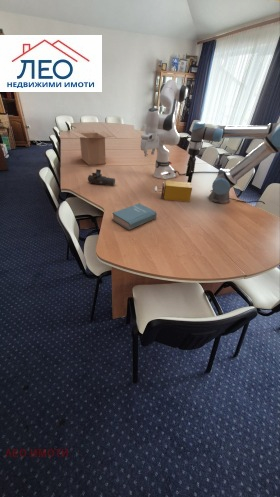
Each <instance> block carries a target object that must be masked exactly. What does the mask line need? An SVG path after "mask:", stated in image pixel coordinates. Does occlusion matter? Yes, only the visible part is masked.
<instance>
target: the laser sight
mask: <svg viewBox="0 0 280 497" xmlns="http://www.w3.org/2000/svg"><path fill="white" fill-rule="evenodd" d="M101 172H102V170H101V169H97V168H96V170H95V172H92V173H91V174H89V175H88V177H87V182H88V183H90V184H95V185H101V186H102V185H103V186H106V185H108V186H115V185H116V178H113V177H106V176H104V175H103V174H102V173H101Z"/></svg>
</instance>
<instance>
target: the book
mask: <svg viewBox="0 0 280 497" xmlns="http://www.w3.org/2000/svg"><path fill="white" fill-rule="evenodd" d="M157 214H158V213H157V211H156V210H154V209H152V208H149V207H148V206H146V205H144V204H142V203H139V202H138V203H136V204H133V205H130V206H126V207H125V208H121V209H120V210H119V209H118V210H116V211H114V212H112V217H113V218H112V221H113V222H115V223H117V224H118V225H119V226H121V227H123V228H125V230H128V231H130V230H132V229H135V228H137V227H139V226H141V225H143V224H146V223H149V222H151V221H152V220H155V219H156V218H157Z"/></svg>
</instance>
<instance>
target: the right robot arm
mask: <svg viewBox="0 0 280 497" xmlns="http://www.w3.org/2000/svg"><path fill="white" fill-rule="evenodd" d="M222 139H242V140H243V139H246V140H247V139H248V140H253V139H254V140H263V142H262V143H261V144H259V145H258V146H257V147H256V148H255V149H253V150H252V151H251V152H249V153H248V154H247V155H246V156H245V157H243V159H241V160H240V161H239V162H238V163H236V164H235V165H234V166H233V167H231V168H230V169H228V168H227V169H226V168H219V169H218V171H217V172H218V173H217V174H216V177H215V179H214V180H213V181H212V185H211V188H212V189H211V190H210V193H209V196H208V199H209V200H210V201H211V202H213V203H216V204H221V205H222V204H228V203H229V202H230V200H232V201H236V202H240V203H248V204H249V203H262V204H263V205H266V202H264V201H262V200H251V201H246V200H245V201H244V200H240V199H236V198H231V197H230V191H231V189H232V188H233V187H234V186H236V185H237V184H238V181H239V180H240V179H241V178H242V177H244V176H245V175H246V174H247V173H249V172H250V171H251V170H253V169H254V168H256V167H257V166H259V165H260V164H261V163H262V162H263V161H264V160H266V159H268V157H269V156H271V155H272V154H278V153H279V152H280V122H274V123H272V122H270V123H269V124H265V125H263V124H262V125H260V124H259V125H257V124H256V125H254V124H253V125H251V124H250V125H219V124H216V125H214V126H213V127H209V126H206V123H205V122H203V121H195V122H193V125H192V129H191V135H190V139H189V140H190V142H188V144H189V146H188V147H189V148H188V150H187V155H189V156H188V160H187V164H186V166H187V167H186V172H185V177H187V181H186V182H188V183H191V184H192V182H193V176H194V174H195V173H194V172H195V168H196V161H197V158H196V156H199V155H200V151H201V147H202V141H209V142H214V143H221V141H222Z"/></svg>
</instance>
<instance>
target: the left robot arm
mask: <svg viewBox="0 0 280 497" xmlns="http://www.w3.org/2000/svg"><path fill="white" fill-rule="evenodd" d="M187 95H188V87H187V86H186V85H184V84H179V83H177V81H176V80H174V79H168V80H167V81H166V82H165V83H163V84H161V86H160V88H159V98H158V99H159V103H160V104H161V105H162V106H163V107H164V108H165V109H164V113H160V110H159V108H156V107H150V108H149V109H147V112H146V116H145V130H144V131H143V133H142V134H141V135H140V138H141V140H140V150H141V151H143V154H144V158H145V157H148V151H149V150H151V152H150V154H151V156H154V155H155V152H156V159H155V165H154V171H153V175H152V176H153V177H154V178H156V179H162V180H169V179H173V178H177V175H176V174H178V175H179V176H186V173H182V174H181V173H180V172H179V171H178V170H176V169H174V168H173V167H172V166H171V165H172V164H173V162H172V161H169V158H170V151H169V150H168V149H167V148H166V147H165V146H178V144H179V143H180V140H181V137H180V133H178V131H177V128H176V123H177V118H178V114H179V108H180V105H181V104H182V103H183V102H184V101H185V100H186V99H187ZM197 173H198V174H199V173H201V174H202V173H203V174H204V173H207V174H218V171H194V174H197Z"/></svg>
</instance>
